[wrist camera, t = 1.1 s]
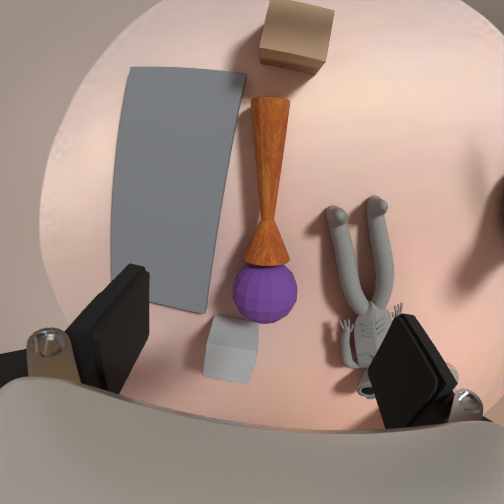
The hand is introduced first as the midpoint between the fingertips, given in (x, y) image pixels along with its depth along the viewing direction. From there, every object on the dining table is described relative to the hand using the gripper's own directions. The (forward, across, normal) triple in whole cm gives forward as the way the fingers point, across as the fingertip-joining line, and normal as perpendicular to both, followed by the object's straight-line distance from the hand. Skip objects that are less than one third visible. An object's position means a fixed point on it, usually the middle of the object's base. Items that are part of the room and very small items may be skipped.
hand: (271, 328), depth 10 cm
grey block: (+18, +1, +15) cm, 24 cm away
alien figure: (+18, -13, +8) cm, 24 cm away
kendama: (+18, 0, 0) cm, 19 cm away
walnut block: (+18, +1, -16) cm, 24 cm away
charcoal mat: (+18, +10, 0) cm, 20 cm away
